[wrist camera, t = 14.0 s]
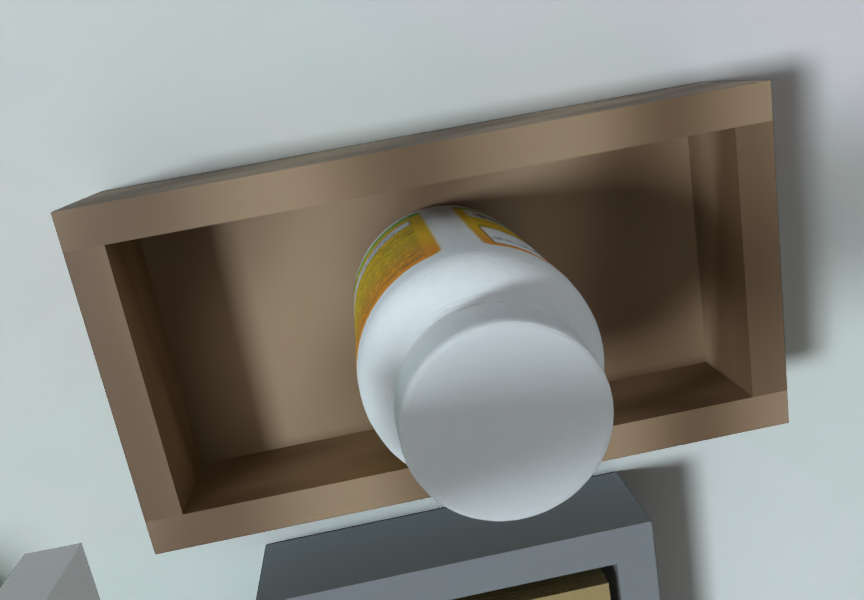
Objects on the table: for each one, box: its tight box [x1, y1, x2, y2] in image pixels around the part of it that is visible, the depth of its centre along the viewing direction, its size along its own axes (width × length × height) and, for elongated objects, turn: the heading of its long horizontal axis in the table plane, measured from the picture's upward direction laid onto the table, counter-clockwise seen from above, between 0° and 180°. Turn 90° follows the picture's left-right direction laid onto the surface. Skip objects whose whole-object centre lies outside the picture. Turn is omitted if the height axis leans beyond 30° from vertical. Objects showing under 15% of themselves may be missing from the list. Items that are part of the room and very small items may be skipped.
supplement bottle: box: [354, 206, 614, 521], centre depth 19 cm, size 5×5×10 cm
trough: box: [51, 80, 789, 554], centre depth 23 cm, size 18×10×4 cm, turn 99°
